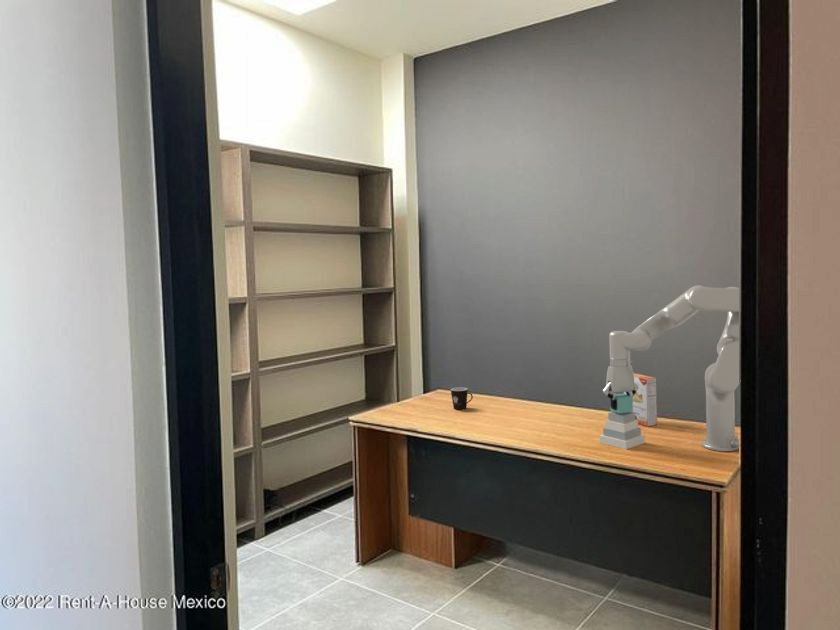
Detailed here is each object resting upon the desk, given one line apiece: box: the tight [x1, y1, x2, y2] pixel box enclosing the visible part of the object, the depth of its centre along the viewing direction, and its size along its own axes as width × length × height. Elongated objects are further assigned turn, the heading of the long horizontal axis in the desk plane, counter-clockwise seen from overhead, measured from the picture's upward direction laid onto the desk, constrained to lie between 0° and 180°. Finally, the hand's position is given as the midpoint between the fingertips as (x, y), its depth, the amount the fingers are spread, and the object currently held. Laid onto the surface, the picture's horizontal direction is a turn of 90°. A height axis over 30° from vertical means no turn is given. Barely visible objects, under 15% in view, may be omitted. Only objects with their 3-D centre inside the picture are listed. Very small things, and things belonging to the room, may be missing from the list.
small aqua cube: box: [609, 392, 633, 414], centre depth 235 cm, size 6×6×6 cm
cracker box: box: [623, 372, 658, 428], centre depth 262 cm, size 14×6×21 cm, turn 24°
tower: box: [599, 411, 646, 450], centre depth 236 cm, size 12×12×12 cm
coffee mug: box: [450, 386, 474, 411], centre depth 304 cm, size 12×9×10 cm
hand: (621, 407), depth 235 cm, fingers closed on small aqua cube, 5 cm apart
